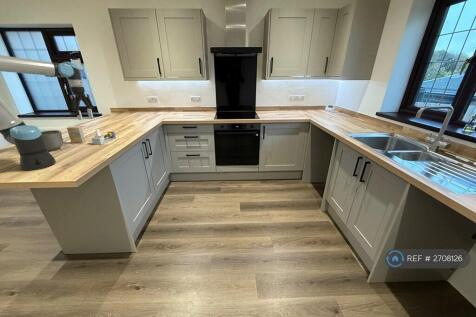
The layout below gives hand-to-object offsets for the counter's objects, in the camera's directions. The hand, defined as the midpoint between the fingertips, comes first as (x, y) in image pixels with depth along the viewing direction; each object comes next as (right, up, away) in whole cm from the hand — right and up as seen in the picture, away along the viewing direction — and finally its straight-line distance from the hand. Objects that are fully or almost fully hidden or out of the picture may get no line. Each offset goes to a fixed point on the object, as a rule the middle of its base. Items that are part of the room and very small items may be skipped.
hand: (86, 118), depth 144 cm
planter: (-23, -23, -1) cm, 33 cm away
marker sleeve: (+1, -16, +14) cm, 21 cm away
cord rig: (+1, -15, +20) cm, 25 cm away
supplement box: (-18, -17, +16) cm, 29 cm away
